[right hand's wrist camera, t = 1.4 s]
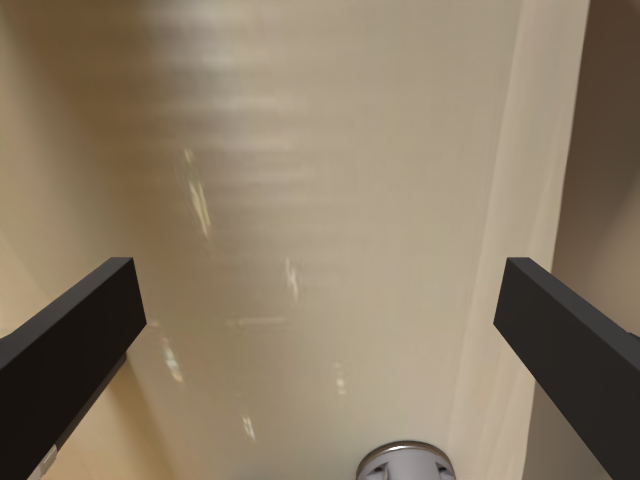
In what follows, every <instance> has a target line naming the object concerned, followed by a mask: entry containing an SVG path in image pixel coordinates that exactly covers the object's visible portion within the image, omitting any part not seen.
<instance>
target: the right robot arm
mask: <svg viewBox="0 0 640 480" xmlns="http://www.w3.org/2000/svg"><path fill="white" fill-rule="evenodd" d="M146 324H147V322H146V318H145V313H144V308H143V303H142V299H141V294H140V289H139V284H138V280H137V275H136V270H135V266H134V261H133V257H111V258H110V259H108V260H107V261H106V262H104V263H103V264H102V265H100V266H99V267H98V268H96V269H95V270H94V271H93V272H91V273H90V274H89V275H87V276H86V277H85V278H83V279H82V280H81V281H79V282H78V283H77V284H75V285H74V286H73V287H72V288H70V289H69V290H68V291H66V292H65V293H64V294H62V295H61V296H60V297H58V298H57V299H56V300H54V301H53V302H52V303H51V304H49V305H48V306H47V307H45V308H44V309H43V310H41V311H40V312H39V313H37V314H36V315H35V316H33V317H32V318H31V319H29V320H28V321H27V322H26V323H24V324H23V325H22V326H20V327H19V328H18V329H16V330H15V331H14V332H12V333H11V334H9V335H7V336H5V337H3V338H1V339H0V480H27V479H28V478H29V477H30V475H31V474H32V473H33V471H34V470H35V469H36V467H37V466H38V465H39V464H40V462H41V461H42V460H43V458H44V457H45V456H46V454H47V453H48V452H49V451H50V449H51V448H52V447H53V445H54V444H55V443H56V441H57V440H58V439H59V438H60V436H61V435H62V434H63V432H64V431H65V430H66V428H67V427H68V426H69V424H70V423H71V422H72V421H73V419H74V418H75V417H76V415H77V414H78V413H79V411H80V410H81V409H82V408H83V406H84V405H85V404H86V402H87V401H88V400H89V398H90V397H91V396H92V395H93V393H94V392H95V391H96V389H97V388H98V387H99V385H100V384H101V383H102V382H103V380H104V379H105V378H106V376H107V375H108V374H109V372H110V371H111V370H112V368H113V367H114V366H115V365H116V363H117V362H118V361H119V359H120V358H121V357H122V355H123V354H124V353H125V352H126V350H127V349H128V348H129V346H130V345H131V344H132V342H133V341H134V340H135V339H136V337H137V336H138V335H139V333H140V332H141V331H142V329H143V328H144V327H145V326H146ZM493 324H494V326H495V327H496V328H497V329H498V331H499V332H500V333H501V335H502V336H503V337H504V339H505V340H506V341H507V342H508V344H509V345H510V346H511V348H512V349H513V350H514V352H515V353H516V354H517V355H518V357H519V358H520V359H521V361H522V362H523V363H524V365H525V366H526V367H527V369H528V370H529V371H530V372H531V374H532V375H533V376H534V378H535V379H536V380H537V382H538V383H539V384H540V385H541V387H542V388H543V389H544V391H545V392H546V393H547V395H548V396H549V397H550V398H551V400H552V401H553V402H554V404H555V405H556V406H557V408H558V409H559V410H560V411H561V413H562V414H563V415H564V417H565V418H566V419H567V421H568V422H569V423H570V424H571V426H572V427H573V428H574V430H575V431H576V432H577V434H578V435H579V436H580V437H581V439H582V440H583V441H584V443H585V444H586V445H587V447H588V448H589V449H590V450H591V452H592V453H593V454H594V456H595V457H596V458H597V459H598V461H599V462H600V464H601V465H602V466H603V467H604V469H605V470H606V471H607V473H608V474H609V475H610V477H611V478H612V479H613V480H640V337H638V336H636V335H634V334H632V333H628V332H626V331H625V330H624V329H622V328H621V327H620V326H618V325H617V324H616V323H614V322H613V321H612V320H611V319H609V318H608V317H607V316H605V315H604V314H603V313H601V312H600V311H599V310H597V309H596V308H595V307H593V306H592V305H591V304H589V303H588V302H587V301H586V300H584V299H583V298H582V297H580V296H579V295H578V294H576V293H575V292H574V291H572V290H571V289H570V288H568V287H567V286H566V285H564V284H563V283H562V282H561V281H559V280H558V279H557V278H555V277H554V276H553V275H551V274H550V273H549V272H547V271H546V270H545V269H544V268H542V267H541V266H540V265H538V264H537V263H536V262H534V261H533V260H532V259H530V258H529V257H507V261H506V266H505V270H504V275H503V280H502V284H501V289H500V294H499V299H498V303H497V308H496V313H495V318H494V322H493ZM356 480H456V477H455V473H454V470H453V467H452V464H451V462H450V460H449V458H448V457H447V456H446V454H445V453H443V452H442V451H441V450H440V449H438V448H436V447H434V446H432V445H429V444H426V443H422V442H416V441H401V442H394V443H390V444H387V445H384V446H381V447H379V448H377V449H375V450H374V451H372V452H371V453H369V454H368V455H367V456H366V457H365V458H364V459H363V460H362V461H361V463H360V465H359V466H358V469H357V472H356Z"/></svg>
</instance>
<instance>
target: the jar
mask: <svg viewBox="0 0 640 480" xmlns="http://www.w3.org/2000/svg"><path fill="white" fill-rule="evenodd" d="M125 360H126V353H124V354H123V355H122V357H121V358H120V359H119V361H118V362H117V363H116V365H115V366H114V367H113V368H112V370H111V371H110V372H109V374H108V375H107V376H106V378H105V379H104V380H103V382H102V383H101V384H100V385H99V387H98V388H97V389H96V391H95V392H94V393H93V395H92V396H91V397H90V398H89V400H88V401H87V402H86V404H85V405H84V406H83V408H82V409H81V410H80V411H79V413H78V414H77V415H76V417H75V418H74V419H73V421H72V422H71V423H70V424H69V426H68V427H67V428H66V430H65V431H64V432H63V434H62V435H61V436H60V438H59V439H58V440H57V441H56V443H55V445H56V447H57V453H58V451H59V450H60V449H61V447H62V446H63V445H64V443H65V442H66V440H67V439H68V438H69V436H70V435H71V434H72V432H73V431H74V430H75V428H76V427H77V426H78V424H79V423H80V422H81V420H82V419H83V418H84V416H85V415H86V413H87V412H88V411H89V409H90V408H91V407H92V405H93V404H94V403H95V401H96V400H97V399H98V397H99V396H100V395H101V393H102V392H103V391H104V389H105V388H106V386H107V385H108V384H109V382H110V381H111V380H112V378H113V377H114V376H115V374H116V373H117V372H118V370H119V369H120V368H121V366H122V365H123V364H124V362H125Z"/></svg>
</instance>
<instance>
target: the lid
mask: <svg viewBox="0 0 640 480" xmlns="http://www.w3.org/2000/svg"><path fill="white" fill-rule="evenodd" d="M57 454H58V453H57V447H56V445H55V444H54V445H53V447H52V448H51V449H50V451H49V452H48V453H47V454H46V456H45V457H44V458H43V460H42V461H41V462H40V464H39V465H38V466H37V467H36V469H35V470H34V471H33V473H32V474H31V475H30V477H29V478H28V479H27V480H40V479H41V478H42V476H43V475H45V473H46V472H47V470H48V469H49V468H50V466H51V465H52V464H53V462H54V461H55V460H56V456H57Z"/></svg>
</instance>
